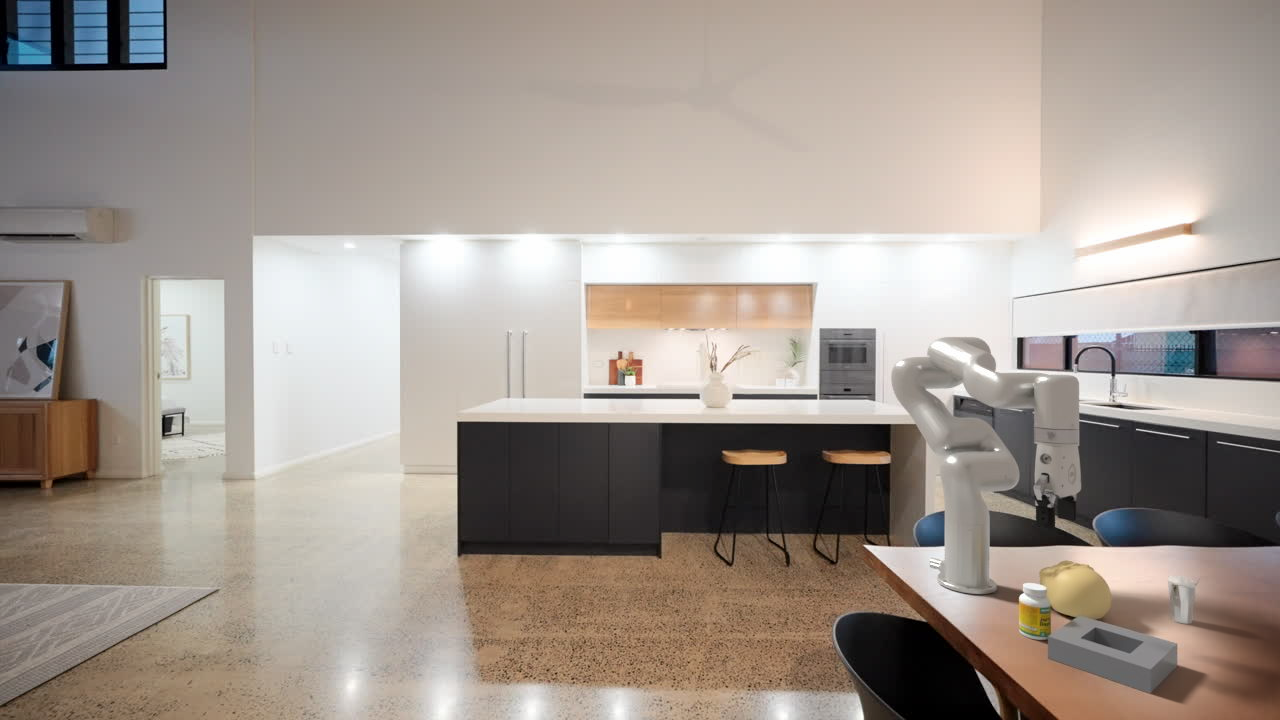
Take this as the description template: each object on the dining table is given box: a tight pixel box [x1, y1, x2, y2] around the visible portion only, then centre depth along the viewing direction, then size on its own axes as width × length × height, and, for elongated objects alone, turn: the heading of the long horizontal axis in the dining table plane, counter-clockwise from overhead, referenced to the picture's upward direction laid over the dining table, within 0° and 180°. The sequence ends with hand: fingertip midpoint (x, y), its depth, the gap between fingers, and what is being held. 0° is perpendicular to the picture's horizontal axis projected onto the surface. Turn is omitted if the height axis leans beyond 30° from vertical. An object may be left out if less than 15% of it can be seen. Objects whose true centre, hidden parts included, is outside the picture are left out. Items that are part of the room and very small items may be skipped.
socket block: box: [1047, 616, 1178, 695], centre depth 114 cm, size 15×15×4 cm
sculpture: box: [1038, 560, 1113, 620], centre depth 135 cm, size 12×12×11 cm
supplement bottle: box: [1018, 582, 1052, 641], centre depth 125 cm, size 5×5×10 cm
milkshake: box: [1167, 574, 1202, 625], centre depth 131 cm, size 5×5×10 cm
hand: (1056, 523), depth 126 cm, fingers open, 9 cm apart
